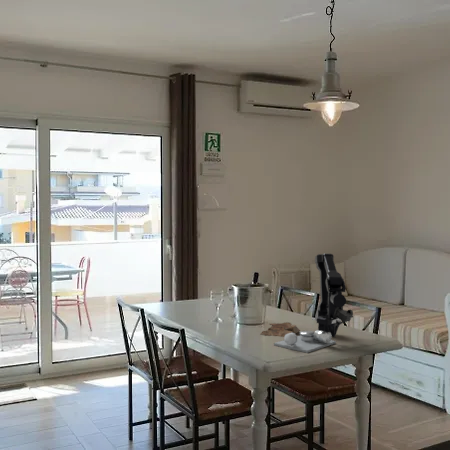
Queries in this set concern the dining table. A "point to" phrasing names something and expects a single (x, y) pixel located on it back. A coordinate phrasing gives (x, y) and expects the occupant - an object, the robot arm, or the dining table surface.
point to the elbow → (318, 335)
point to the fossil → (280, 329)
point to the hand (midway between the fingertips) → (333, 337)
